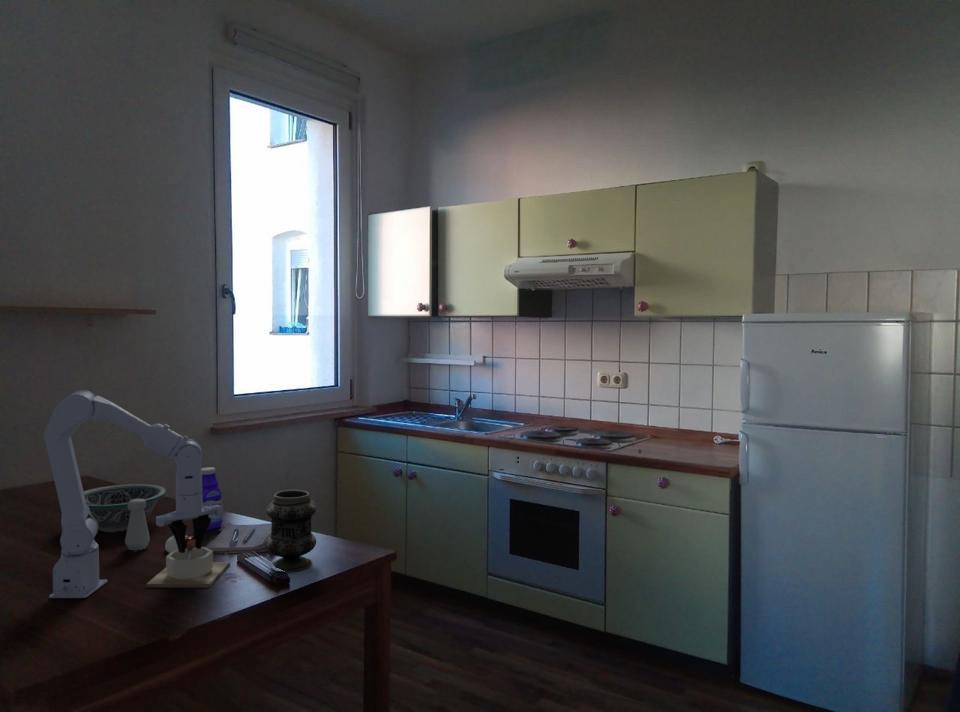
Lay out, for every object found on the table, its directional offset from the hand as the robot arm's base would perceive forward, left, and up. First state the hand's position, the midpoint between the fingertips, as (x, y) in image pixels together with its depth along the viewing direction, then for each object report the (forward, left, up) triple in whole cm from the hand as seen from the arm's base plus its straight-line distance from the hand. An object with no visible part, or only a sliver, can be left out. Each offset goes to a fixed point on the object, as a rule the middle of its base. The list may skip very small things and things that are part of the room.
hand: (189, 549), depth 163 cm
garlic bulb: (+18, +10, -6) cm, 22 cm away
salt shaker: (+19, +21, -6) cm, 29 cm away
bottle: (+37, +9, -6) cm, 39 cm away
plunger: (0, 0, -5) cm, 5 cm away
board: (0, 0, -6) cm, 6 cm away
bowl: (+38, +35, -6) cm, 52 cm away
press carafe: (0, 0, -6) cm, 6 cm away
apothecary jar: (+7, -22, -6) cm, 24 cm away
